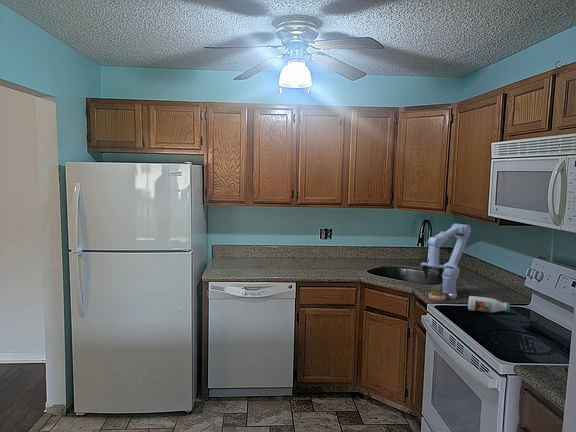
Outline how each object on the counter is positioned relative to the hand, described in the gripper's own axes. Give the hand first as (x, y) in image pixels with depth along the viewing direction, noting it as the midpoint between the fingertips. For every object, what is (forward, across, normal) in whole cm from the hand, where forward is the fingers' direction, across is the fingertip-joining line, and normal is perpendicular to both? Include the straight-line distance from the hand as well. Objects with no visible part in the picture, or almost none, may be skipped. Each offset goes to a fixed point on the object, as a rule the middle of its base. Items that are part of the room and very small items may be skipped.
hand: (432, 279), depth 256 cm
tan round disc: (+10, +4, -4) cm, 12 cm away
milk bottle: (+7, +24, -14) cm, 28 cm away
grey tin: (+10, +11, +3) cm, 16 cm away
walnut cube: (+8, +4, -4) cm, 10 cm away
